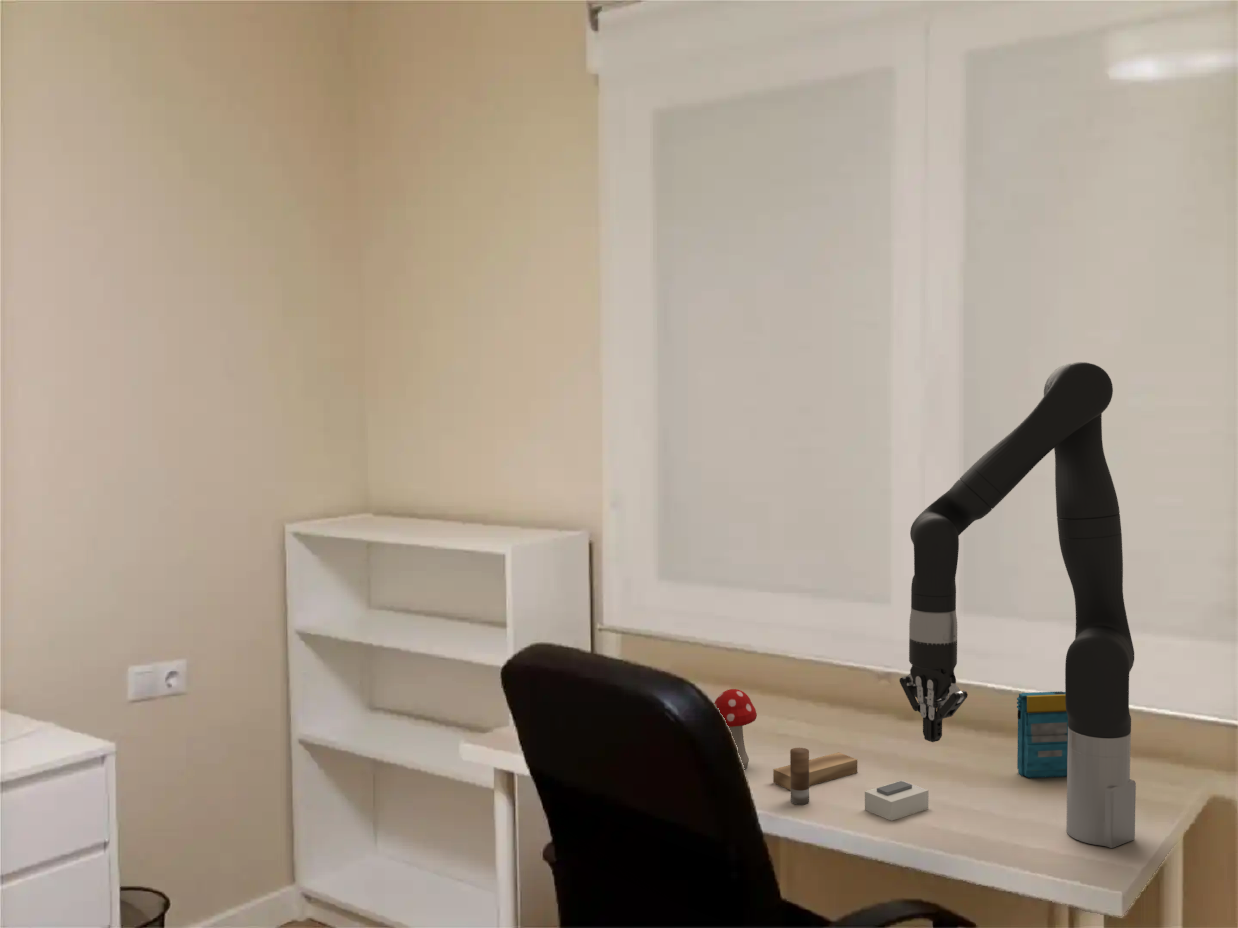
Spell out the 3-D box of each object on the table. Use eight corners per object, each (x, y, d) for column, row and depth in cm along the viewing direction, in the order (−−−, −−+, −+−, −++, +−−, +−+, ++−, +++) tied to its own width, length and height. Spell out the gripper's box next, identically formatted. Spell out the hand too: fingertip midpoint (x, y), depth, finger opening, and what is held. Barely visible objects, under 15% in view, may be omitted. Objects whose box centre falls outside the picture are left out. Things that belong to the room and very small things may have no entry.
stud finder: (928, 810, 194) (928, 786, 194) (891, 822, 189) (891, 798, 189) (901, 799, 199) (901, 776, 199) (864, 811, 194) (864, 787, 194)
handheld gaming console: (1065, 770, 211) (1066, 690, 210) (1076, 777, 207) (1077, 697, 206) (1014, 772, 211) (1015, 692, 210) (1023, 780, 207) (1024, 698, 206)
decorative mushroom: (737, 779, 209) (736, 699, 208) (699, 769, 215) (698, 691, 214) (767, 765, 217) (766, 687, 216) (729, 755, 223) (728, 680, 221)
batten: (857, 772, 212) (857, 759, 212) (791, 790, 204) (791, 777, 203) (838, 765, 216) (838, 752, 216) (773, 782, 208) (773, 769, 208)
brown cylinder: (813, 802, 198) (812, 751, 197) (799, 806, 196) (798, 755, 196) (800, 796, 201) (800, 746, 200) (786, 800, 199) (786, 750, 198)
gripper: (981, 640, 182) (980, 747, 183) (918, 625, 193) (917, 725, 194) (948, 647, 178) (947, 756, 179) (886, 631, 189) (886, 733, 190)
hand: (932, 740), depth 187 cm, fingers closed
